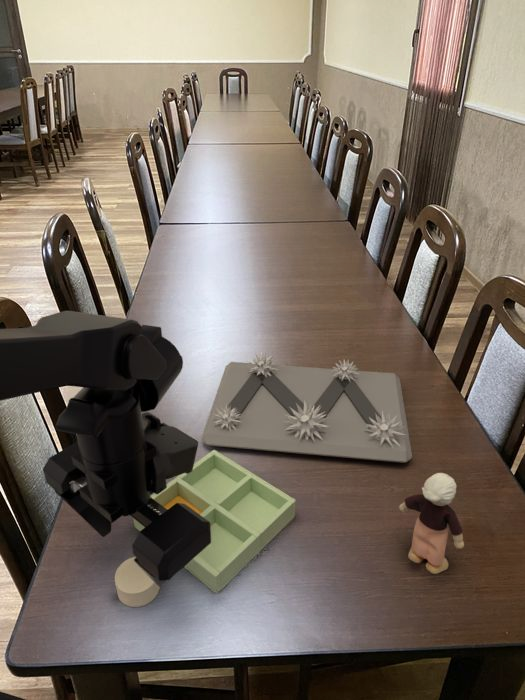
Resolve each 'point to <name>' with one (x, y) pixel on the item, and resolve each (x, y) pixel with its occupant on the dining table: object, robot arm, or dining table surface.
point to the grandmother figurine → (434, 522)
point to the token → (134, 584)
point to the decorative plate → (310, 411)
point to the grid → (228, 515)
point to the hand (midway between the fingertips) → (133, 557)
